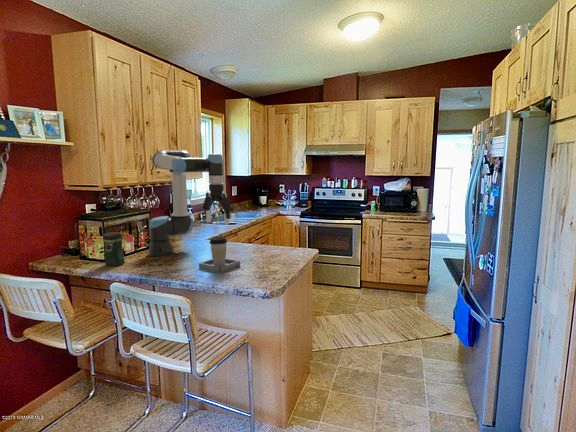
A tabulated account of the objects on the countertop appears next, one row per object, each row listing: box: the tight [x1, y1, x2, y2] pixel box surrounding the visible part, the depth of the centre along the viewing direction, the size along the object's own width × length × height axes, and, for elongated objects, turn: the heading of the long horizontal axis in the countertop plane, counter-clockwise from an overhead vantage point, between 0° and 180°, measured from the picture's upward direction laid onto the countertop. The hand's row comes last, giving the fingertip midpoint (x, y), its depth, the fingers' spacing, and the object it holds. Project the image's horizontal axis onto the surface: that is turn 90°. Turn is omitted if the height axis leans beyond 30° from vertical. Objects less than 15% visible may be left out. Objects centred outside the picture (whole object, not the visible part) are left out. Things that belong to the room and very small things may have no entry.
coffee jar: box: [102, 231, 125, 267], centre depth 194 cm, size 10×8×19 cm
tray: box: [198, 257, 241, 274], centre depth 187 cm, size 16×15×3 cm
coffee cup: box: [209, 236, 228, 267], centre depth 187 cm, size 9×9×15 cm
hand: (217, 223), depth 184 cm, fingers open, 13 cm apart
